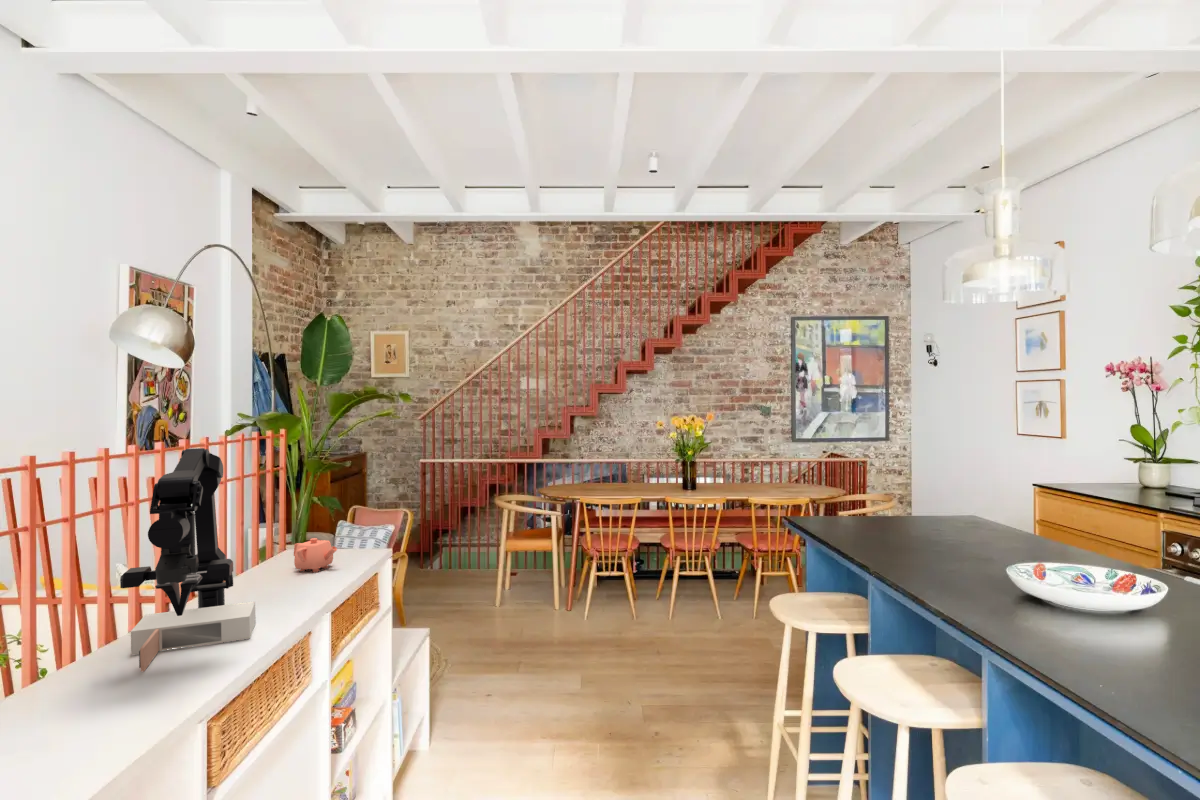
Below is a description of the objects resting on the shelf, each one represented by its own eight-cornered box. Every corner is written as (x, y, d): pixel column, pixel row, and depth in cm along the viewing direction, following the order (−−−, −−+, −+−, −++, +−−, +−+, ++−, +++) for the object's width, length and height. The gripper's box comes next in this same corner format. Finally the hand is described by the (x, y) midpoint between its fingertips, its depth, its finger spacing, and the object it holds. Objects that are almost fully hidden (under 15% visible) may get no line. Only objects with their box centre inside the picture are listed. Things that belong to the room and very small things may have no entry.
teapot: (337, 570, 205) (337, 539, 205) (295, 575, 199) (295, 544, 199) (333, 562, 215) (332, 533, 215) (293, 567, 209) (292, 537, 209)
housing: (146, 636, 148) (145, 614, 148) (255, 622, 157) (255, 601, 157) (131, 655, 137) (130, 631, 137) (249, 638, 145) (249, 616, 145)
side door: (159, 650, 139) (158, 628, 139) (144, 671, 128) (143, 648, 128) (154, 650, 139) (153, 629, 139) (138, 672, 127) (138, 648, 127)
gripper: (110, 551, 122) (112, 635, 122) (224, 541, 129) (226, 620, 129) (128, 540, 133) (129, 617, 133) (232, 531, 140) (234, 604, 140)
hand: (180, 615), depth 133 cm, fingers closed
